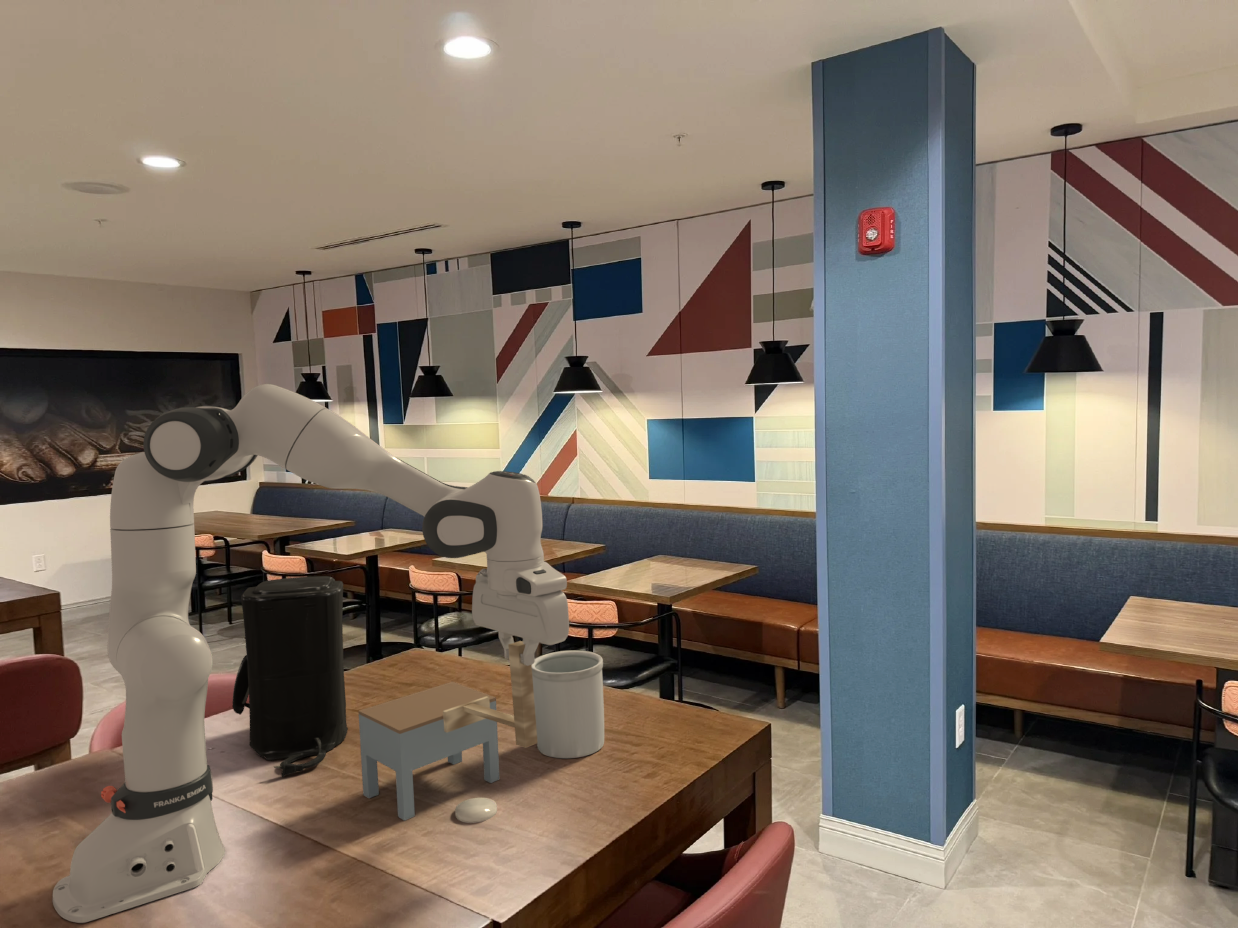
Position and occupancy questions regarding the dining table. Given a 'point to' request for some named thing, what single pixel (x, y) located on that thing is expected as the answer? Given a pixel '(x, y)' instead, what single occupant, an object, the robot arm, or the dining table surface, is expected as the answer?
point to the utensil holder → (569, 703)
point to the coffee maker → (293, 669)
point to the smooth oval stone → (476, 810)
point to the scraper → (521, 706)
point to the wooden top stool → (421, 738)
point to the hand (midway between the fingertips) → (519, 661)
